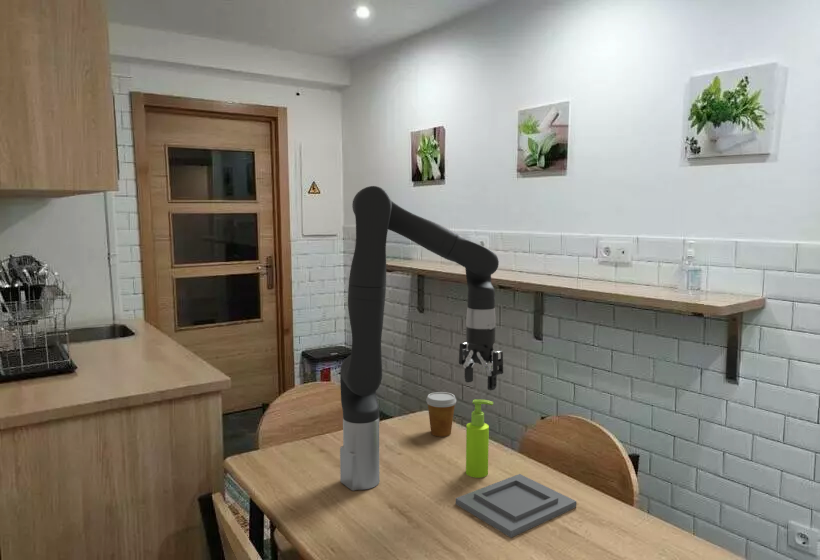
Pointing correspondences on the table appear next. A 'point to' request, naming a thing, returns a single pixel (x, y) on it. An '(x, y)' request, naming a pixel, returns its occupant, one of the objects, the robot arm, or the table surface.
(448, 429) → the disposable coffee cup
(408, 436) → the table surface
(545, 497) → the stand
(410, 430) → the table surface
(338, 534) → the table surface
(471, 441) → the soap dispenser
